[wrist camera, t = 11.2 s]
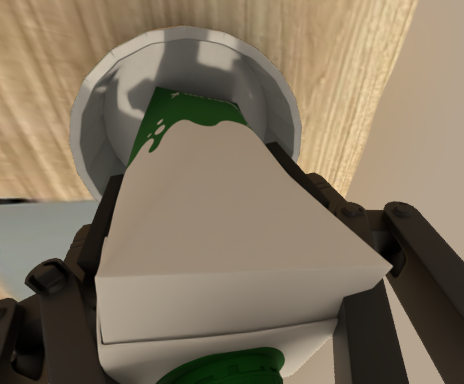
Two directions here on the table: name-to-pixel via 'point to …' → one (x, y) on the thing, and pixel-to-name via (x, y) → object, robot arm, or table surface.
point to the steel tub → (180, 79)
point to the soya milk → (218, 256)
